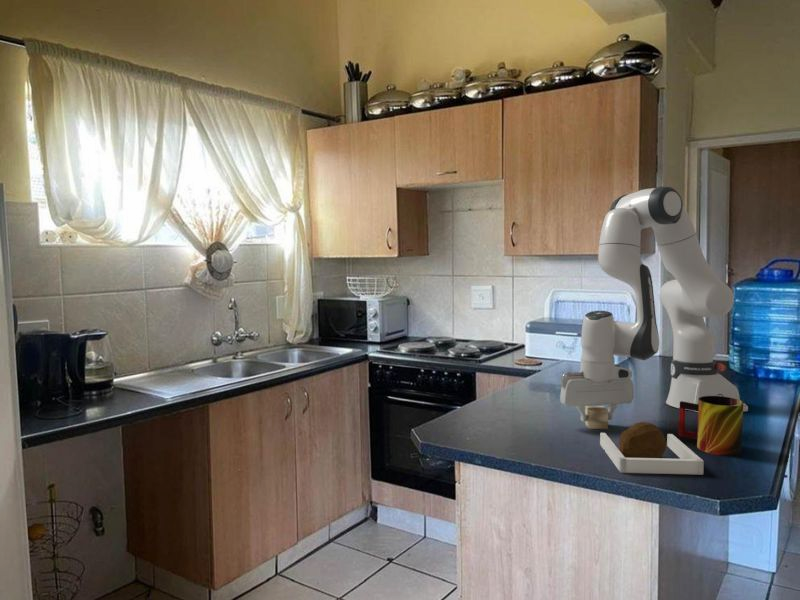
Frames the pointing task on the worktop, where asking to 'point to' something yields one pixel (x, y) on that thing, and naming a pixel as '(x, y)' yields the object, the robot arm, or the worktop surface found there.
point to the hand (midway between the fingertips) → (596, 420)
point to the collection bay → (655, 459)
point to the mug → (715, 424)
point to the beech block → (596, 417)
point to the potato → (642, 441)
